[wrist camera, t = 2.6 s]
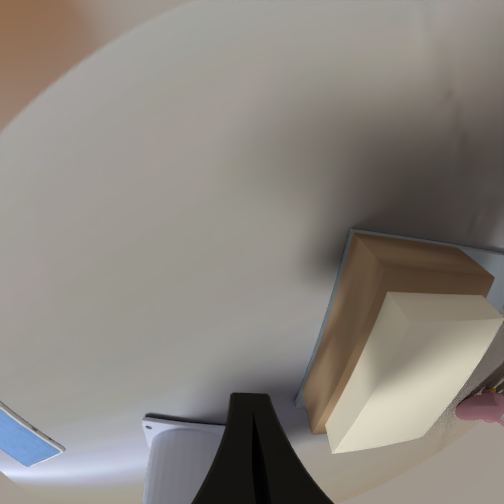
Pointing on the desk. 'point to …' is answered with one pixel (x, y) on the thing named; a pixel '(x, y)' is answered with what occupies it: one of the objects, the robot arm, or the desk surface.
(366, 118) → the desk surface
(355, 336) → the brown wooden block
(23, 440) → the tablet computer
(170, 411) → the desk surface
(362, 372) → the cream rectangular block
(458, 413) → the video game controller
